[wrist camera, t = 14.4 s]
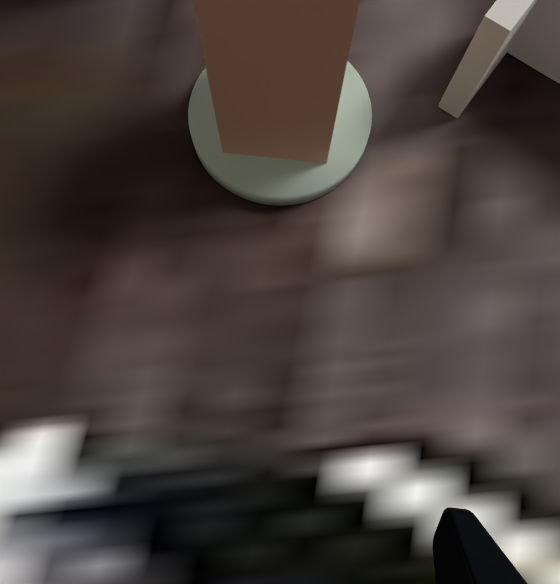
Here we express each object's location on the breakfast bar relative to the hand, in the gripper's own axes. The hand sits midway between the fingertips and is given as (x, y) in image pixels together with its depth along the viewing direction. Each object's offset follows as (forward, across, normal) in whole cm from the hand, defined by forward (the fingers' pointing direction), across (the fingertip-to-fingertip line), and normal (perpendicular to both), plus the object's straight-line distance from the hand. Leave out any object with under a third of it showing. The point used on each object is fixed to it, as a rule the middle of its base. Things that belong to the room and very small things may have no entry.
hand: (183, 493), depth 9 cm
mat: (+21, 0, -2) cm, 21 cm away
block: (+20, 0, -3) cm, 20 cm away
